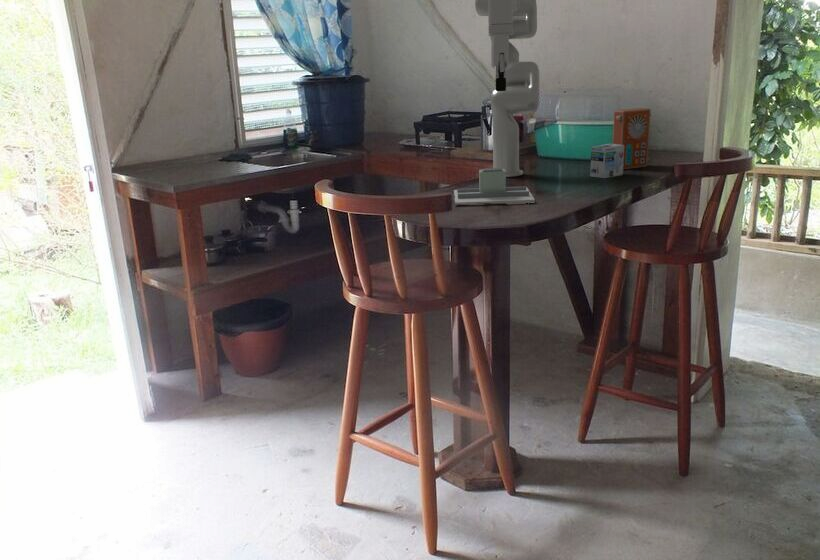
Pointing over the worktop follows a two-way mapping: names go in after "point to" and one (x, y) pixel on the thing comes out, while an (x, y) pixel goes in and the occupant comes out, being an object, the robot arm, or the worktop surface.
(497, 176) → the block
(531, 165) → the worktop surface
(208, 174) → the worktop surface
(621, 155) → the light bulb box
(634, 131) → the control panel
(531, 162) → the worktop surface
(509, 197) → the rail plate
